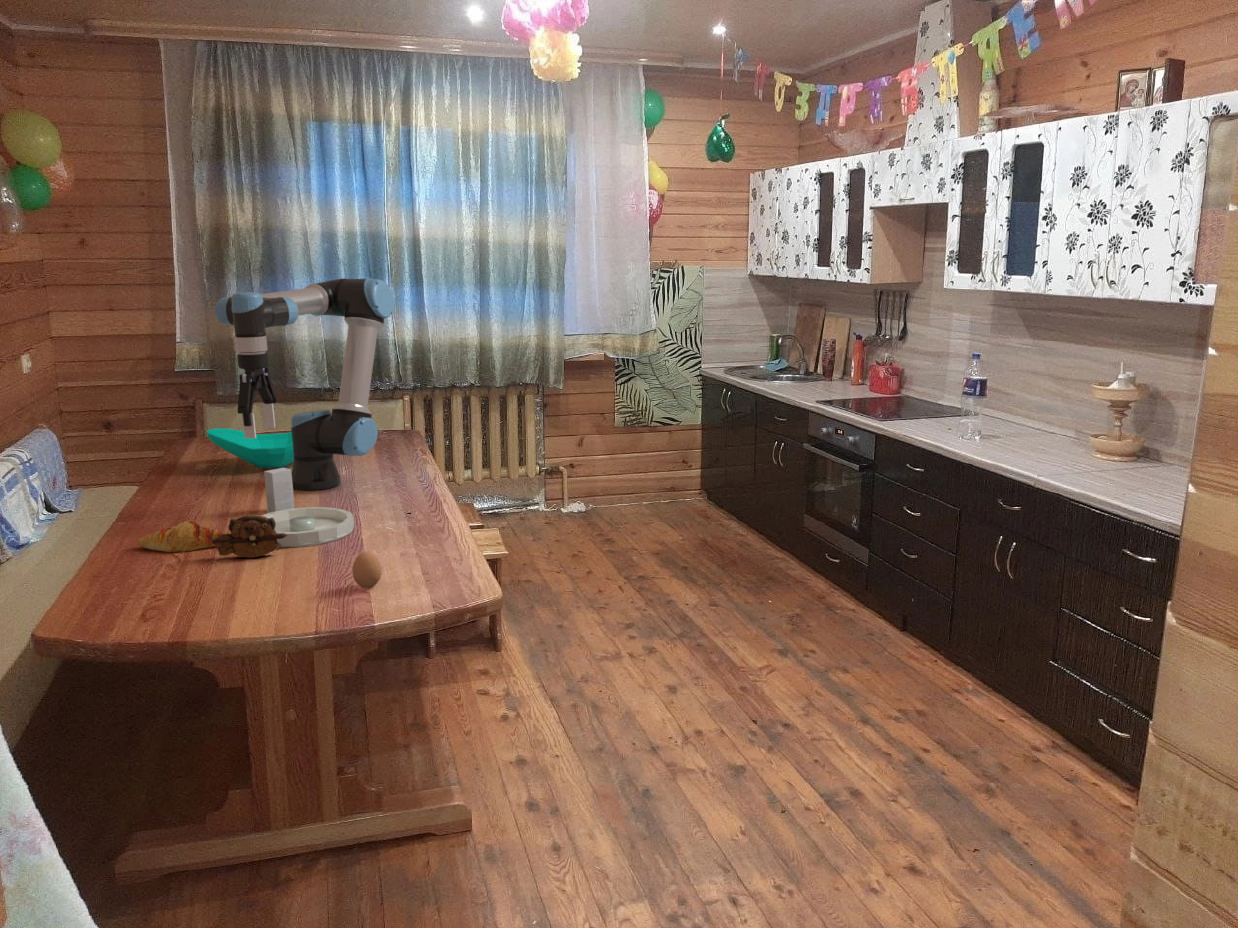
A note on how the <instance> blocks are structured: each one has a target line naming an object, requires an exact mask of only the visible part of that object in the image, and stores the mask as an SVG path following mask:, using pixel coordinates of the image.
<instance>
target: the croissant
mask: <svg viewBox="0 0 1238 928" xmlns="http://www.w3.org/2000/svg"><path fill="white" fill-rule="evenodd" d="M222 534H231V532H222V531H221V530H219V529H218V530H217V529H211V528H209V527H208V526H205V525H200V524H198V523H197V522H196V521H192V520H190V519H189V520H186V521H183V522H180V523H178V524H177V525H176V526H175V525H174V526H169V527H168V526H167V527H164V528H161V529H160V530H159V531H155V532H151V533H148V534H147V535H145V536H144V537H140V538H138V541H137V542H138V545H139V546H140V547H142V548H144V549H148V550H152V551H158V552H165V553H180V552H181V553H183V552H192V551H195V550H196V551H197V550H200V549H201V550H202V549H209V548H216V546H215V544H213V543H212V540H214V538H216V537H218V536H220V535H222Z"/></svg>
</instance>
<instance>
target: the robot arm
mask: <svg viewBox="0 0 1238 928" xmlns="http://www.w3.org/2000/svg"><path fill="white" fill-rule="evenodd" d="M394 309H395V297H394V293H393V292H392V290H391V288H390V286H389V285H388V284H387V282H386V281H384V280H382V279H377V278H371V277H369V278H336V279H331V280H326V281H322V282H315V283H311V284H310V283H309V284H308V285H306V287H305V288H299V289H289V290H281V291H275V292H268V293H266V292H265V293H261V292H257V291H255V292H254V291H250V292H249V291H248V292H247V291H246V292H245V291H244V292H235V293H233V294H232V295H231V296H227V297H226V296H224V297H221V298H220V299H218V301H217V302H216V304H215V309H214V310H215V316H216V318H217V320H218V322H220V323H221V324H223V325H228V326H233V327H234V328H233V330H234V336H235V337H234V339H235V340H234V341H233V342H234V344H235V346H236V352H237V355H236V358H237V360H236V361H237V367H238V368H239V370H244V374H239V376H238V377H239V388H238V389H239V390H238V400H237V401H238V402H237V414H239V415H242V416H241V417H242V424H243V426H242V427H243V431H244V436H245V438H256V434H257V432H256V430H257V429H256V423H255V413H254V412H253V409H254V402H255V398H256V393H257V392H258V395H259V396H260V397H261V400H262V402H263V403H262V404H261V406H262V407H261V408H262V416H263V426H264V428H265V429H266V428H267V429H274V428H276V419H275V411H274V404H277V396H276V392H275V389H274V386H273V383H272V379H271V375H270V369H269V367H270V363H269V362H270V361H269V355H268V353H267V351H268V341H267V339H268V338H267V333H266V332H267V331H266V329H267V328H273V327H286V326H288V325H293V324H294V323H296V322H297V320H298V318H299V316H304V315H309V314H310V315H312V316H315V317H320V316H334V317H344V321H345V323H346V324H347V326H348V329H347V337H346V344H345V351H344V357H343V364H342V365H343V367H342V374H341V379H340V380H341V381H340V389H339V396H338V403H337V404H336V405H335V406H333V407H332V409H331V410H330V409H317V410H310V411H304V412H299V413H295V414H293V416H292V417H291V421H290V422H291V427H290V430H291V431H290V432H292V442H293V453H294V461H293V465H292V469H291V473H292V484H293V490H297V491H318V490H327V489H331V488H335V487H338V486H340V485H341V484H342V479H341V477H342V476H341V474H340V473H339V470H338V467H337V464H336V462H335V459H334V455H337V456H338V455H339V456H347V457H362V456H365V455H367V454H369V452H370V451H372V449H373V448H374V447H375V445H376V443H377V439H378V434H379V433H378V432H379V431H378V427H377V423H376V422H375V421H374V419H372V415H373V414H372V411H370V410H369V408H368V405H369V399H370V392H371V385H372V383H371V382H372V376H373V375H372V374H373V367H374V361H375V360H374V359H375V352H376V345H377V337H378V331H380V329H382V328H383V327H384V324H385V323H384V322H385V319H388V318H390V317H391V316H392V314H393V313H394Z"/></svg>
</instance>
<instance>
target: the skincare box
mask: <svg viewBox="0 0 1238 928" xmlns="http://www.w3.org/2000/svg"><path fill="white" fill-rule="evenodd" d="M263 473H264V475H263V476H264V477H263V478H264V484H265V487H264V488H265V495H266V506H267V513H271V512H276V511H281V510H286V509H294V508H295V497H294V489H293V484H292V469H291V468H287V467H280V468H273V469H269V470H263Z"/></svg>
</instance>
